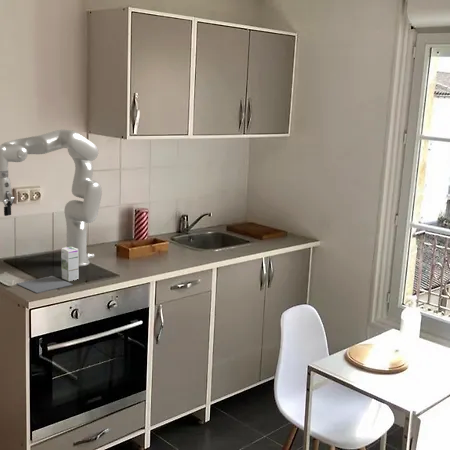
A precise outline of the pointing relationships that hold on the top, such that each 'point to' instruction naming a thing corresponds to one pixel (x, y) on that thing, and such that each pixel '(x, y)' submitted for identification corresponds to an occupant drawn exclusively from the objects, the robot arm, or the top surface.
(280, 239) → the top surface
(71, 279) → the syrup box
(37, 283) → the mat
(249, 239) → the top surface
